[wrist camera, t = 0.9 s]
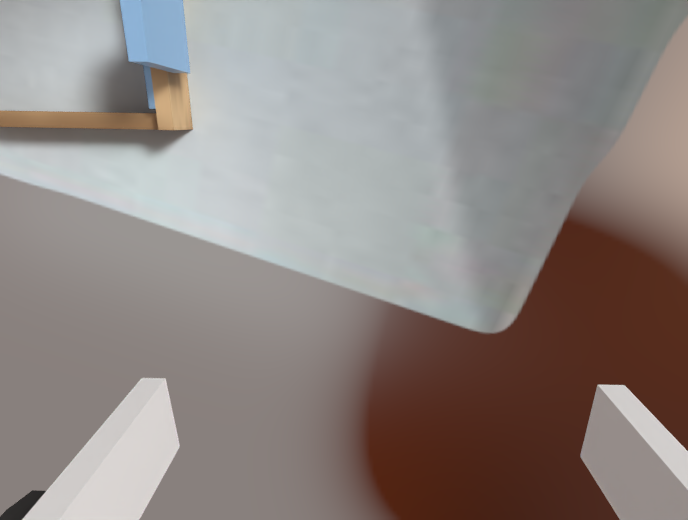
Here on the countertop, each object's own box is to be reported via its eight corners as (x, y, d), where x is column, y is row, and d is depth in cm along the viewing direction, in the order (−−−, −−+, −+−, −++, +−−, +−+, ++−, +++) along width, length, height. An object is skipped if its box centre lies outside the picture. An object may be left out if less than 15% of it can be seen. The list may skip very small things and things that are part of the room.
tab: (165, -6, 28) (113, -39, 22) (182, -6, 28) (135, -39, 22) (174, 73, 29) (128, 61, 24) (190, 73, 29) (148, 61, 24)
